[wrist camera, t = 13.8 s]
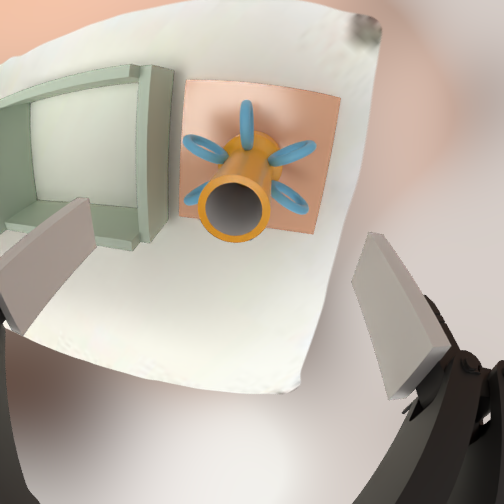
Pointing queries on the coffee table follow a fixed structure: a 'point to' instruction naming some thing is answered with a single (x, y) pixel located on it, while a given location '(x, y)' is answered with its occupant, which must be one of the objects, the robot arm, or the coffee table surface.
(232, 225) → the orange tube
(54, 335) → the coffee table surface
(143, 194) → the box
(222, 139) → the terracotta tile
